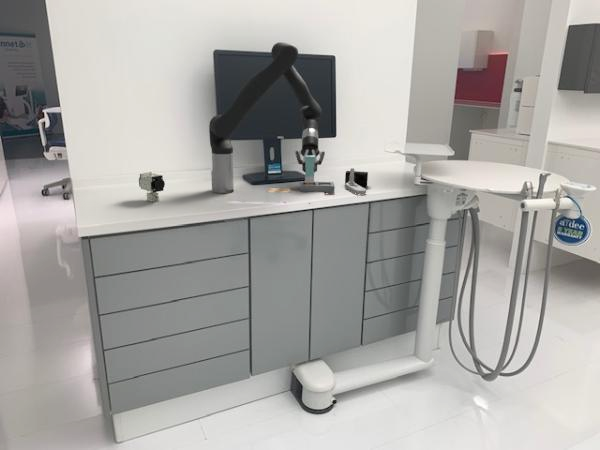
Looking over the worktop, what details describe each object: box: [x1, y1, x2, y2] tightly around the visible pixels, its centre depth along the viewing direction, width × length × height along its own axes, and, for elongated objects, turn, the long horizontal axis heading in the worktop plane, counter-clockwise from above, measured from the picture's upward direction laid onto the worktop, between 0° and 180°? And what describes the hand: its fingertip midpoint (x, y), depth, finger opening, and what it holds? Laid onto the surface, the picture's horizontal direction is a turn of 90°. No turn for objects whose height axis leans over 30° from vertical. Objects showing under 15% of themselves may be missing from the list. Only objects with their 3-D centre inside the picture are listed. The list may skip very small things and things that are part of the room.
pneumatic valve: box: [138, 171, 166, 203], centre depth 194 cm, size 6×12×12 cm, turn 51°
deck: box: [266, 187, 291, 194], centre depth 215 cm, size 10×8×1 cm
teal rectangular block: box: [304, 155, 315, 183], centre depth 216 cm, size 4×4×12 cm
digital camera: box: [344, 170, 369, 188], centre depth 229 cm, size 10×5×7 cm, turn 78°
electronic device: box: [344, 167, 367, 195], centre depth 219 cm, size 5×10×15 cm
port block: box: [299, 180, 336, 194], centre depth 218 cm, size 16×9×4 cm, turn 89°
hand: (309, 171), depth 214 cm, fingers closed on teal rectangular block, 4 cm apart
